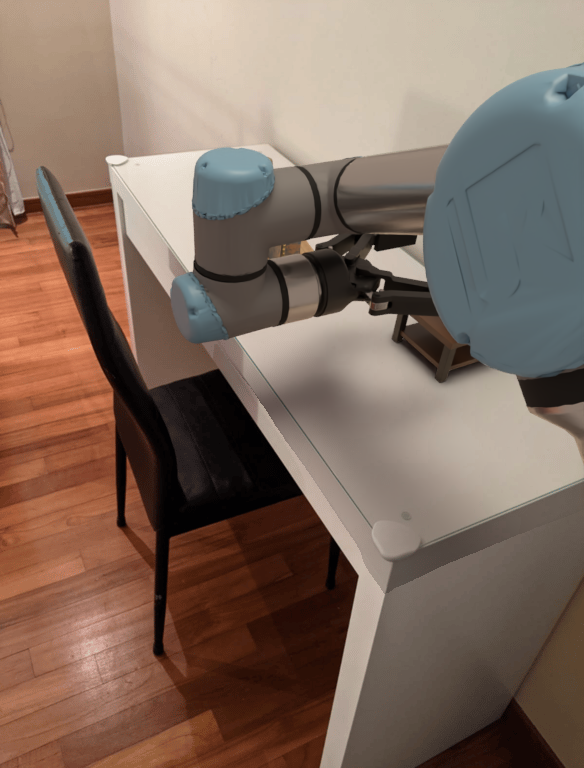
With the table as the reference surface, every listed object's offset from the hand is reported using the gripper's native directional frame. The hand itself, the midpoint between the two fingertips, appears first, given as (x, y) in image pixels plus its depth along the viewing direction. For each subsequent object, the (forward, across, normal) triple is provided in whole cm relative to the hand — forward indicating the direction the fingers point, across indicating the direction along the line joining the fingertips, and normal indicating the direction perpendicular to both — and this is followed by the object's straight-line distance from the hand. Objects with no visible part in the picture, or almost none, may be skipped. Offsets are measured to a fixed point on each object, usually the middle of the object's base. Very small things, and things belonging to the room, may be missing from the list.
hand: (448, 256), depth 79 cm
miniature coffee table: (+7, 0, -17) cm, 19 cm away
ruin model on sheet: (-6, -32, -17) cm, 37 cm away
